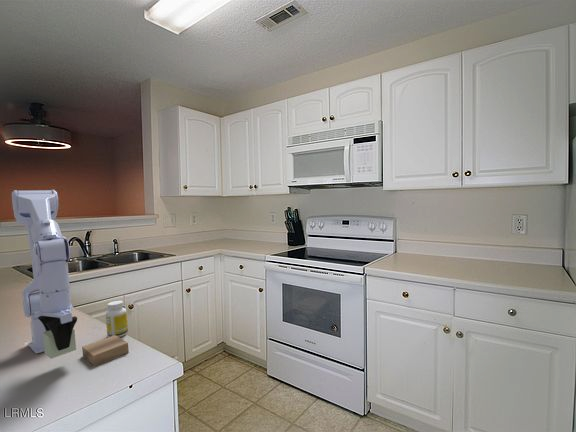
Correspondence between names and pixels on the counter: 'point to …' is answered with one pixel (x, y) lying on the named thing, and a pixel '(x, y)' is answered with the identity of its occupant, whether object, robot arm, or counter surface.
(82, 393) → the counter surface
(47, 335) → the sage cube
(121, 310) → the supplement bottle
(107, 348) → the walnut block
